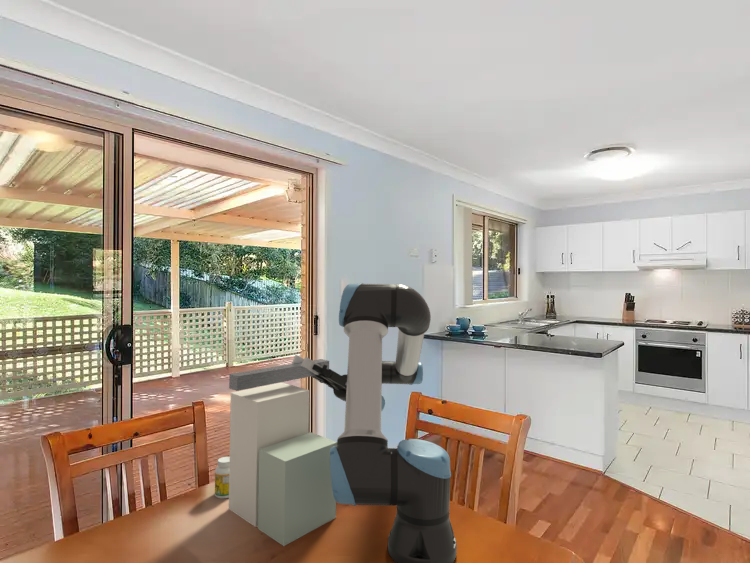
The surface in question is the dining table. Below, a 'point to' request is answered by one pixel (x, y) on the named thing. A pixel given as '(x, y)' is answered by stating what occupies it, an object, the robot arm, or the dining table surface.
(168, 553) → the dining table surface
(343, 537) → the dining table surface
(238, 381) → the steel block
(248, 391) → the two-step stand
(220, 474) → the supplement bottle
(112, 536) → the dining table surface
